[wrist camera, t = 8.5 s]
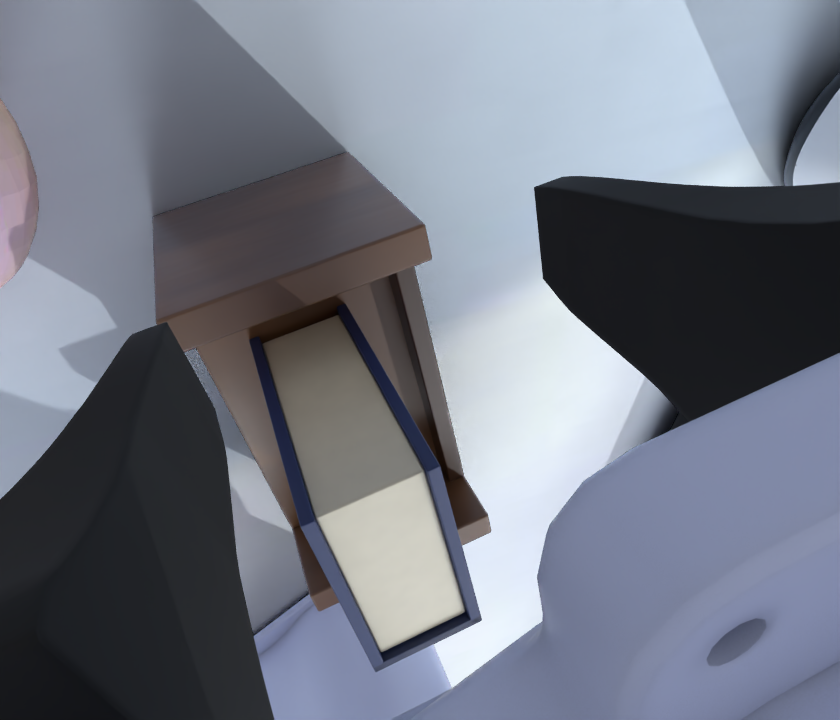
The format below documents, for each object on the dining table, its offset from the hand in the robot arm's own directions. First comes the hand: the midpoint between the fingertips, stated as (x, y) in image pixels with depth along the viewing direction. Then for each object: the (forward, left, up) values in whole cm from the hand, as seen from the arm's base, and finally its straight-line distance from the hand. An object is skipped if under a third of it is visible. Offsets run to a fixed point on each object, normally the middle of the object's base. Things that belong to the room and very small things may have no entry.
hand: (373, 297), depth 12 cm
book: (-4, -6, -6) cm, 9 cm away
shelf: (-3, -6, -10) cm, 12 cm away
